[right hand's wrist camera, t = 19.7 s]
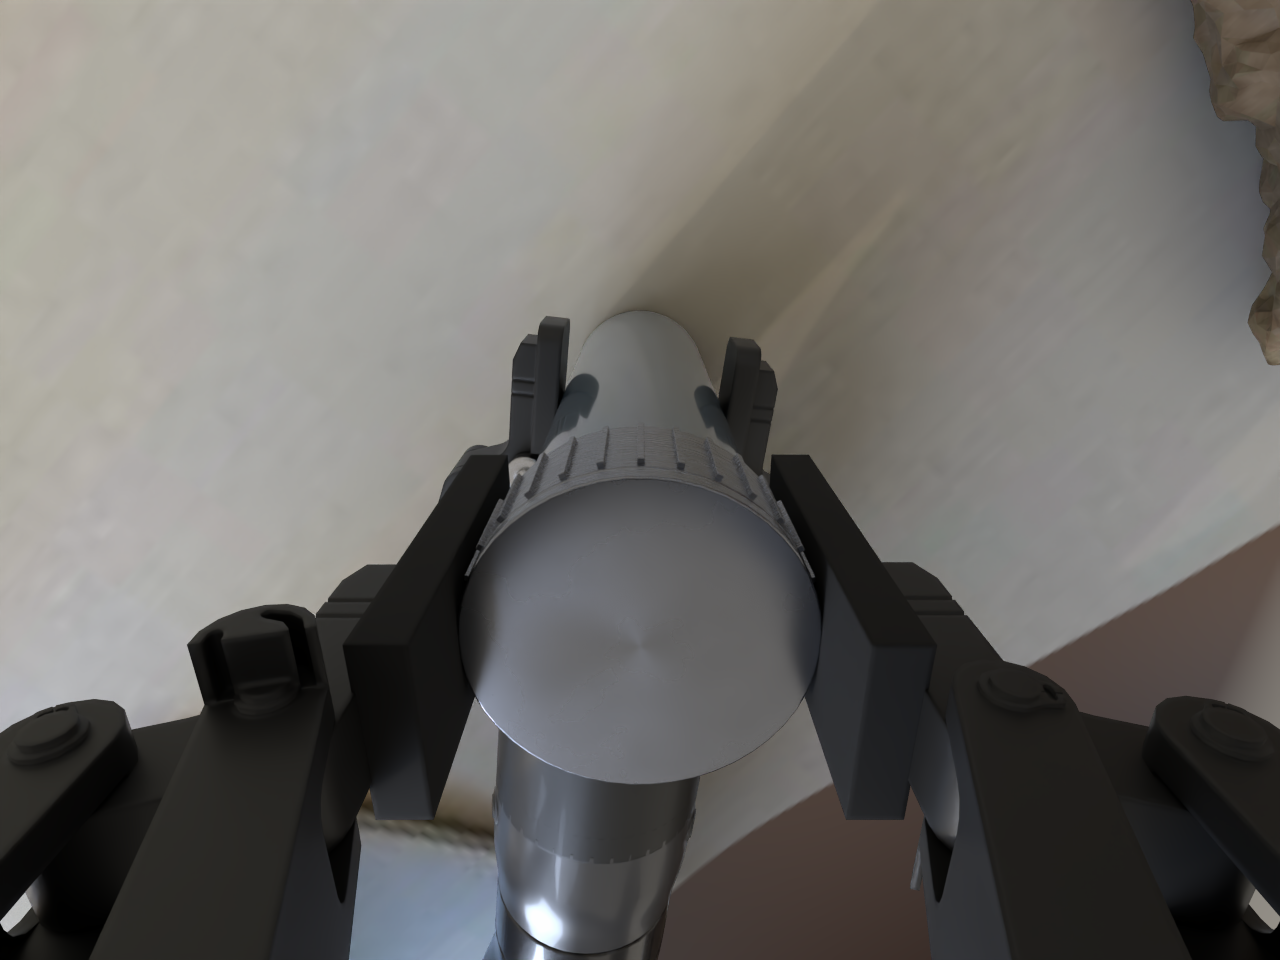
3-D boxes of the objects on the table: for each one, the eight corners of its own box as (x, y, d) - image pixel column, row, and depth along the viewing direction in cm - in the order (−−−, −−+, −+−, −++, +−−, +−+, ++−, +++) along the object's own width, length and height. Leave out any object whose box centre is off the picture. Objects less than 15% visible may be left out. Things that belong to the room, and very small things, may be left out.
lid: (530, 715, 14) (510, 812, 11) (444, 455, 12) (399, 513, 9) (811, 669, 13) (844, 759, 11) (772, 390, 11) (805, 434, 9)
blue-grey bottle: (591, 296, 26) (512, 445, 10) (717, 327, 26) (837, 517, 10) (566, 418, 27) (464, 713, 11) (684, 445, 28) (743, 765, 12)
